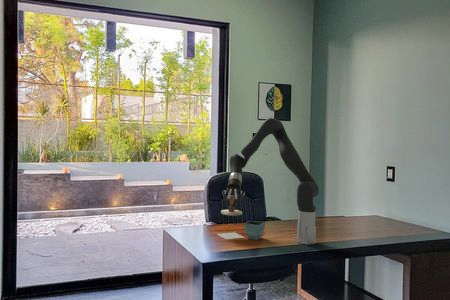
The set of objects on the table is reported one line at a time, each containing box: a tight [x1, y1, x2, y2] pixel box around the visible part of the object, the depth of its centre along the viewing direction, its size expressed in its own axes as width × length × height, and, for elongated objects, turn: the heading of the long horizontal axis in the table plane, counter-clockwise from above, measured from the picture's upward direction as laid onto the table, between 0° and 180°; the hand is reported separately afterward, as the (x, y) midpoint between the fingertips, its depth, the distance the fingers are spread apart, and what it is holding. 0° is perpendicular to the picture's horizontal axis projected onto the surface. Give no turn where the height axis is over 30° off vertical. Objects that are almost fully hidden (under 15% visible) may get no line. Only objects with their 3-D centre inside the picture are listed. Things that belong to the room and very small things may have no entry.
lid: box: [220, 195, 243, 216], centre depth 215 cm, size 12×12×10 cm
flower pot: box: [244, 220, 266, 241], centre depth 212 cm, size 9×9×9 cm
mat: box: [216, 232, 246, 240], centre depth 215 cm, size 12×12×1 cm
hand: (231, 205), depth 213 cm, fingers closed on lid, 3 cm apart
